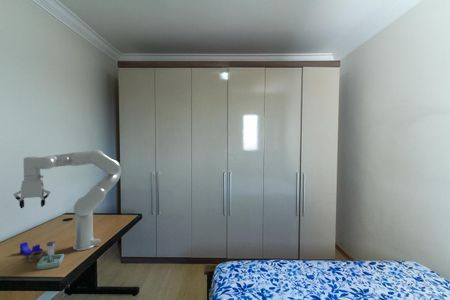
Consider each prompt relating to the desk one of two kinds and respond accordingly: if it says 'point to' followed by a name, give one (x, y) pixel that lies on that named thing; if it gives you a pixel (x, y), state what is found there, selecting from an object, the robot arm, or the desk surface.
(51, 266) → the tray
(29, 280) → the desk surface
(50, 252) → the flashlight
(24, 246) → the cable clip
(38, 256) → the socket
